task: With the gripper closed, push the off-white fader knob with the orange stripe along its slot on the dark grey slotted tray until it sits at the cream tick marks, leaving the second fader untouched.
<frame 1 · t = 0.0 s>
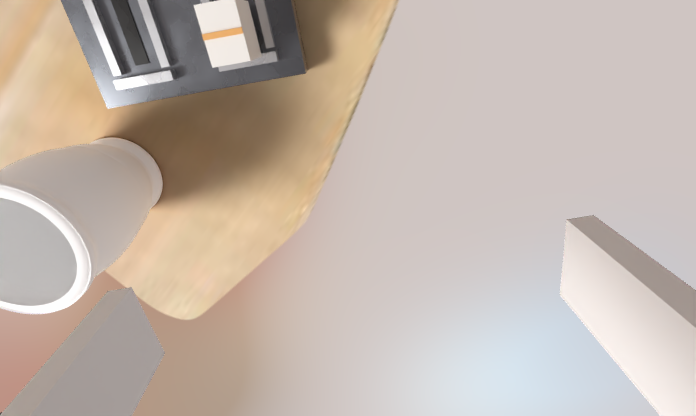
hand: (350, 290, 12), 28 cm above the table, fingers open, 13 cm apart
jar: (123, 175, 40), on the table
fader A: (232, 33, 29), point 6 cm above the table, slide at 0.0 cm
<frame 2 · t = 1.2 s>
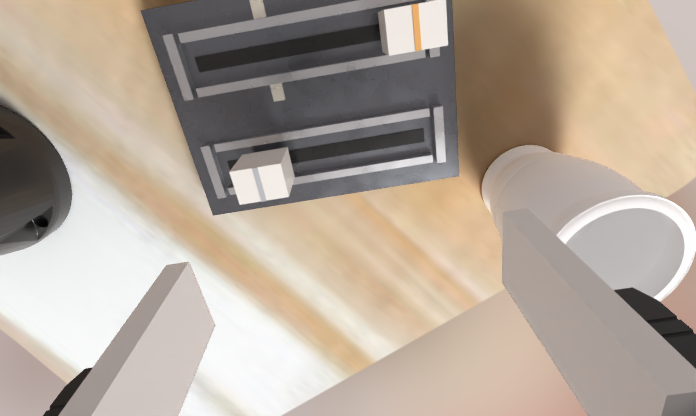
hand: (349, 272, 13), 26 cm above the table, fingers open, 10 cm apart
dark grey slotted tray: (317, 96, 35), on the table
jar: (520, 182, 39), on the table
fader A: (409, 27, 28), point 6 cm above the table, slide at 0.0 cm
fader B: (265, 172, 32), point 6 cm above the table, slide at 0.0 cm
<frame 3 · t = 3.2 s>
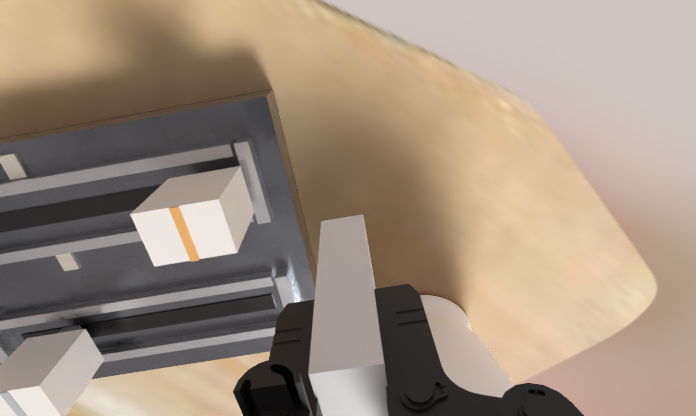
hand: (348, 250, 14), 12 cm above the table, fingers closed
dark grey slotted tray: (139, 248, 27), on the table
jar: (418, 331, 32), on the table
fader A: (203, 208, 20), point 6 cm above the table, slide at 0.0 cm
fader B: (50, 369, 24), point 6 cm above the table, slide at 0.0 cm
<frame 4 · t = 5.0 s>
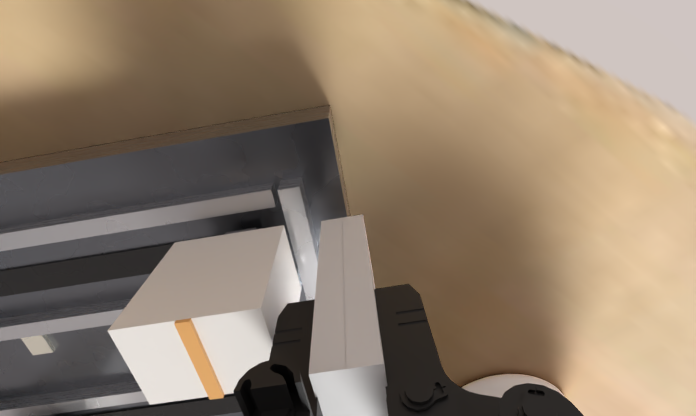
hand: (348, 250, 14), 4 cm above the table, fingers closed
dark grey slotted tray: (138, 314, 20), on the table
jar: (497, 414, 25), on the table
fader A: (228, 294, 13), point 6 cm above the table, slide at 0.2 cm, touching gripper
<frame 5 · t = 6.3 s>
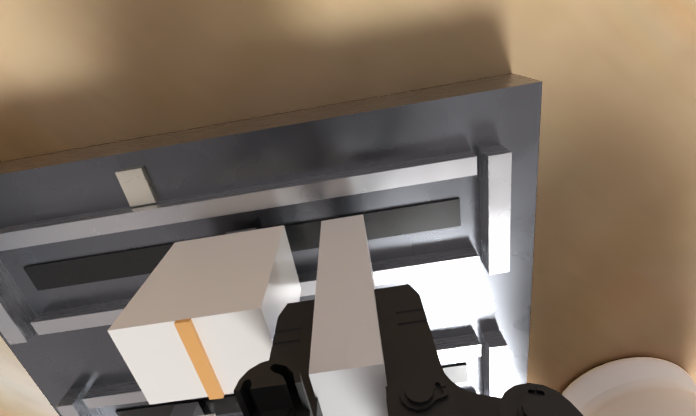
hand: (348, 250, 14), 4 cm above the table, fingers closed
dark grey slotted tray: (275, 294, 20), on the table
jar: (616, 399, 24), on the table
fader A: (228, 294, 13), point 6 cm above the table, slide at 7.6 cm, touching gripper
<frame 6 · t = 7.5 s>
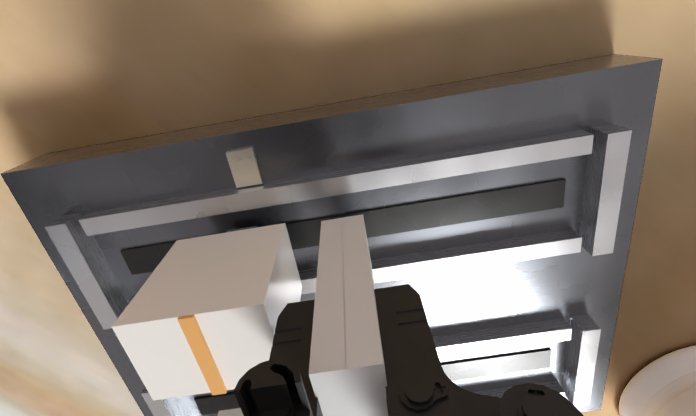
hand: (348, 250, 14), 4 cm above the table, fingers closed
dark grey slotted tray: (354, 280, 20), on the table
jar: (681, 387, 24), on the table
fader A: (230, 291, 13), point 6 cm above the table, slide at 11.7 cm, touching gripper
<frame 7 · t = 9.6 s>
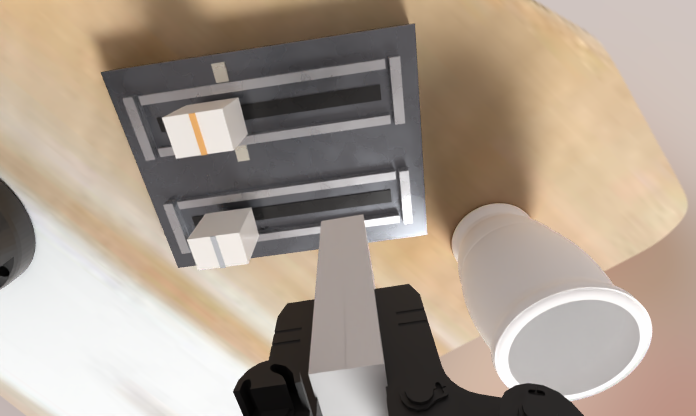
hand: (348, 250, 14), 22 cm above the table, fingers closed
dark grey slotted tray: (284, 153, 35), on the table
jar: (491, 237, 39), on the table
fader A: (211, 124, 28), point 6 cm above the table, slide at 11.7 cm
fader B: (227, 234, 32), point 6 cm above the table, slide at 0.0 cm
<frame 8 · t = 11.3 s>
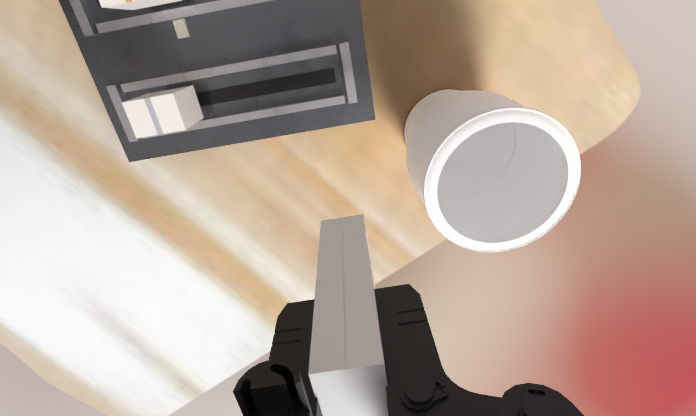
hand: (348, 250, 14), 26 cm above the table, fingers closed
dark grey slotted tray: (228, 38, 35), on the table
jar: (444, 130, 39), on the table
fader B: (168, 109, 32), point 6 cm above the table, slide at 0.0 cm
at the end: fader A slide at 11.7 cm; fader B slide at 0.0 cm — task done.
